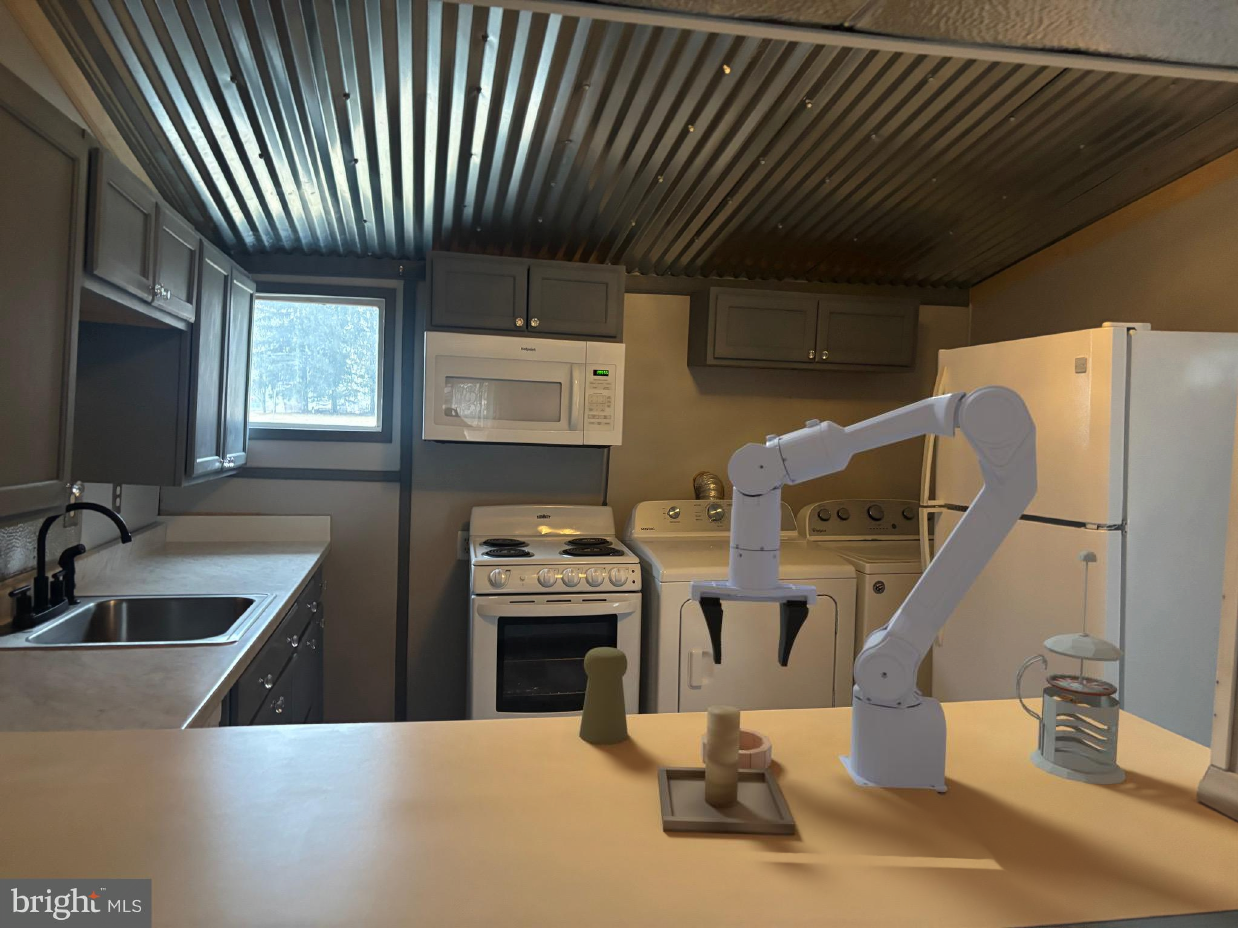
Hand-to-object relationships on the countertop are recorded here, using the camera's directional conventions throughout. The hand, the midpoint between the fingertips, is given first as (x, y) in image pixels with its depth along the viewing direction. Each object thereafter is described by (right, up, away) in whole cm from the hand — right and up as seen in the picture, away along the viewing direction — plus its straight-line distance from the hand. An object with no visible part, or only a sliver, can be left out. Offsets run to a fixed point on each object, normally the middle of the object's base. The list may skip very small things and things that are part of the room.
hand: (749, 662), depth 94 cm
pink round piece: (-2, -11, -4) cm, 11 cm away
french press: (+37, -12, -1) cm, 39 cm away
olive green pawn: (-17, -10, +2) cm, 20 cm away
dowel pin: (-5, -10, -15) cm, 18 cm away
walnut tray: (-5, -11, -15) cm, 19 cm away
